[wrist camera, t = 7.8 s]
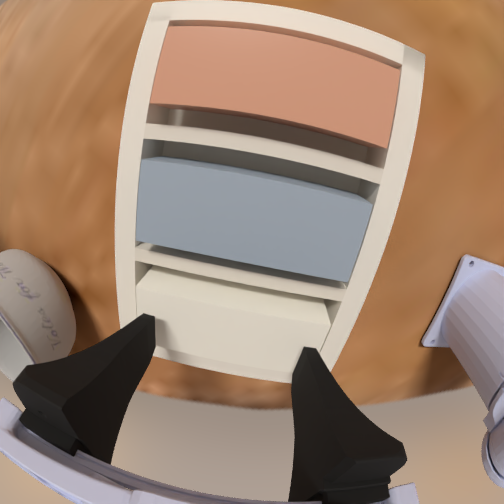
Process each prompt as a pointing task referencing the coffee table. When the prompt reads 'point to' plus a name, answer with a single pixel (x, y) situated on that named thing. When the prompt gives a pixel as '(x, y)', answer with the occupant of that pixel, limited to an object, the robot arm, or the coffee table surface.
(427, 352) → the coffee table surface
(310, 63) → the terracotta key
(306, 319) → the ivory key
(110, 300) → the coffee table surface
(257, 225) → the slate key
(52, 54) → the coffee table surface
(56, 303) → the teacup
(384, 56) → the cream drawer frame
